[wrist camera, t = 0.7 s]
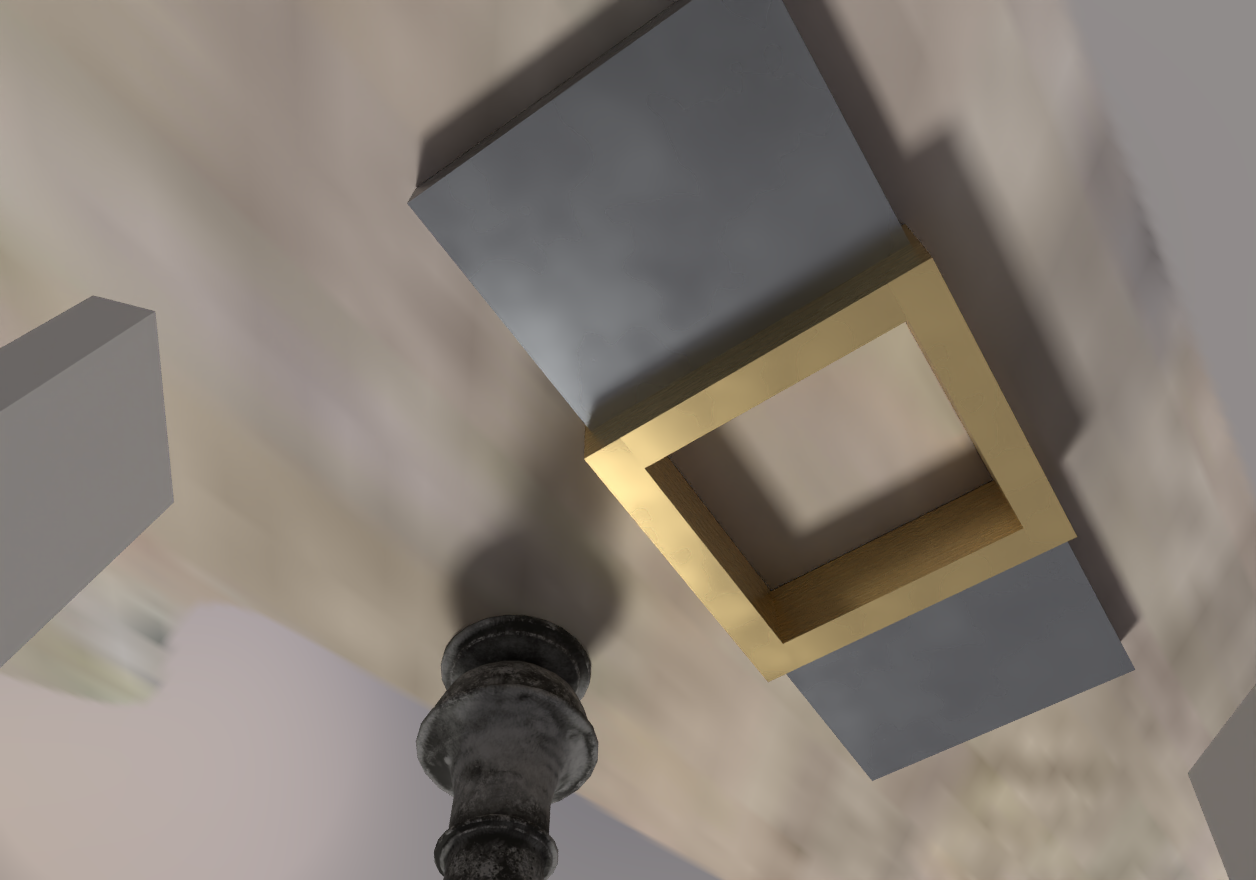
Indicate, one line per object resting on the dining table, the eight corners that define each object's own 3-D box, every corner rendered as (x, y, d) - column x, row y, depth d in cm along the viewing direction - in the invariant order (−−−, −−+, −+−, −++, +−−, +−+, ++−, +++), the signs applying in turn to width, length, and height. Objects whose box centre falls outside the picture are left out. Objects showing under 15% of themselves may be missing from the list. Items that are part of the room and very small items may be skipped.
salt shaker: (633, 662, 34) (645, 1013, 24) (531, 750, 36) (503, 1105, 26) (498, 581, 32) (448, 927, 21) (400, 680, 34) (312, 1035, 24)
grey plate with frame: (409, 192, 25) (390, 224, 23) (757, -57, 22) (774, -47, 20) (860, 757, 37) (875, 812, 34) (1124, 642, 34) (1159, 695, 32)
